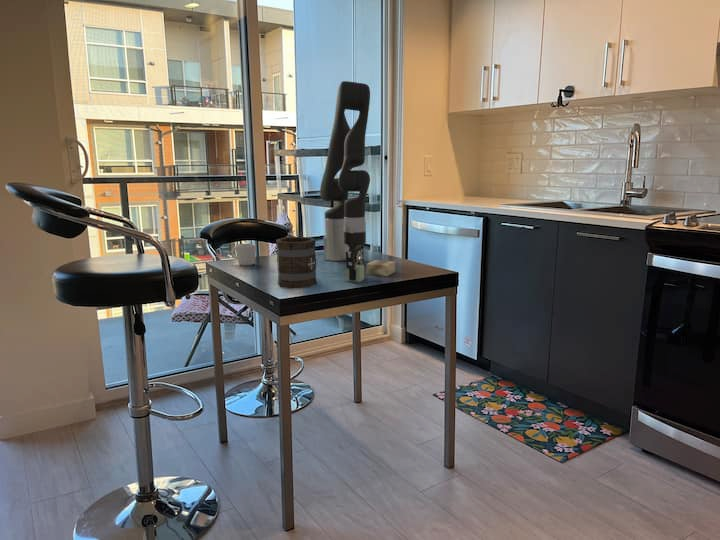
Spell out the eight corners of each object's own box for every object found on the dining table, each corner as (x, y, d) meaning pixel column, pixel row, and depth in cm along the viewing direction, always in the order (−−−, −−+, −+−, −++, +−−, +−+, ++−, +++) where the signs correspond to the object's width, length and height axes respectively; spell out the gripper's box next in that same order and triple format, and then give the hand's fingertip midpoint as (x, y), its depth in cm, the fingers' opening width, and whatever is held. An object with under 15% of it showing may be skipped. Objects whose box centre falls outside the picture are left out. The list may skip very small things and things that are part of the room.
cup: (226, 265, 206) (225, 245, 205) (238, 261, 214) (237, 242, 212) (249, 267, 202) (248, 247, 201) (260, 263, 210) (259, 243, 208)
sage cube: (346, 281, 179) (346, 267, 177) (350, 278, 183) (350, 264, 182) (360, 282, 177) (360, 267, 176) (364, 278, 182) (364, 264, 181)
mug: (312, 289, 168) (311, 243, 165) (272, 288, 170) (270, 242, 167) (324, 275, 187) (323, 234, 184) (287, 274, 189) (285, 234, 186)
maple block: (366, 274, 189) (366, 264, 188) (375, 270, 196) (375, 260, 195) (386, 276, 186) (386, 265, 185) (395, 272, 193) (395, 261, 192)
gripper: (350, 227, 184) (351, 273, 188) (337, 232, 171) (338, 282, 174) (370, 227, 182) (371, 274, 186) (359, 233, 169) (360, 283, 172)
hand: (355, 277), depth 180 cm, fingers open, 6 cm apart
